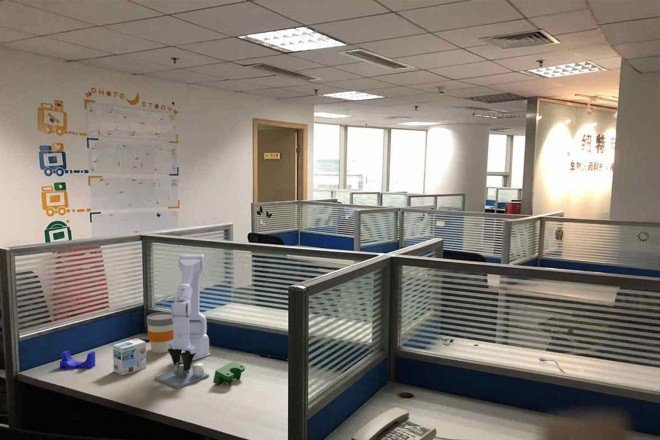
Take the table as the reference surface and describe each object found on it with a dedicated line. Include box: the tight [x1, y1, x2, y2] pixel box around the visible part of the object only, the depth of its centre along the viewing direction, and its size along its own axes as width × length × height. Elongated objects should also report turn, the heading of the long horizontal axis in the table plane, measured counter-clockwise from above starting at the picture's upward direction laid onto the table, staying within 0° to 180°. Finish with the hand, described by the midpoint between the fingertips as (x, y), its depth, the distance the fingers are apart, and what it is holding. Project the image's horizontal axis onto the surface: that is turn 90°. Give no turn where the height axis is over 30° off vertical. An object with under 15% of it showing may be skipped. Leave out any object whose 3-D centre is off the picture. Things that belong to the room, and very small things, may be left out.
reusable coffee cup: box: [146, 311, 174, 354], centre depth 227 cm, size 13×12×15 cm
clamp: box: [212, 360, 246, 386], centre depth 194 cm, size 12×6×9 cm, turn 148°
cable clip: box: [59, 350, 96, 370], centre depth 206 cm, size 12×4×6 cm, turn 87°
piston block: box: [154, 362, 210, 390], centre depth 196 cm, size 14×14×5 cm
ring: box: [173, 360, 190, 376], centre depth 196 cm, size 6×6×4 cm
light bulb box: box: [112, 338, 147, 376], centre depth 204 cm, size 11×7×11 cm, turn 143°
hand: (181, 368), depth 196 cm, fingers closed on ring, 5 cm apart
